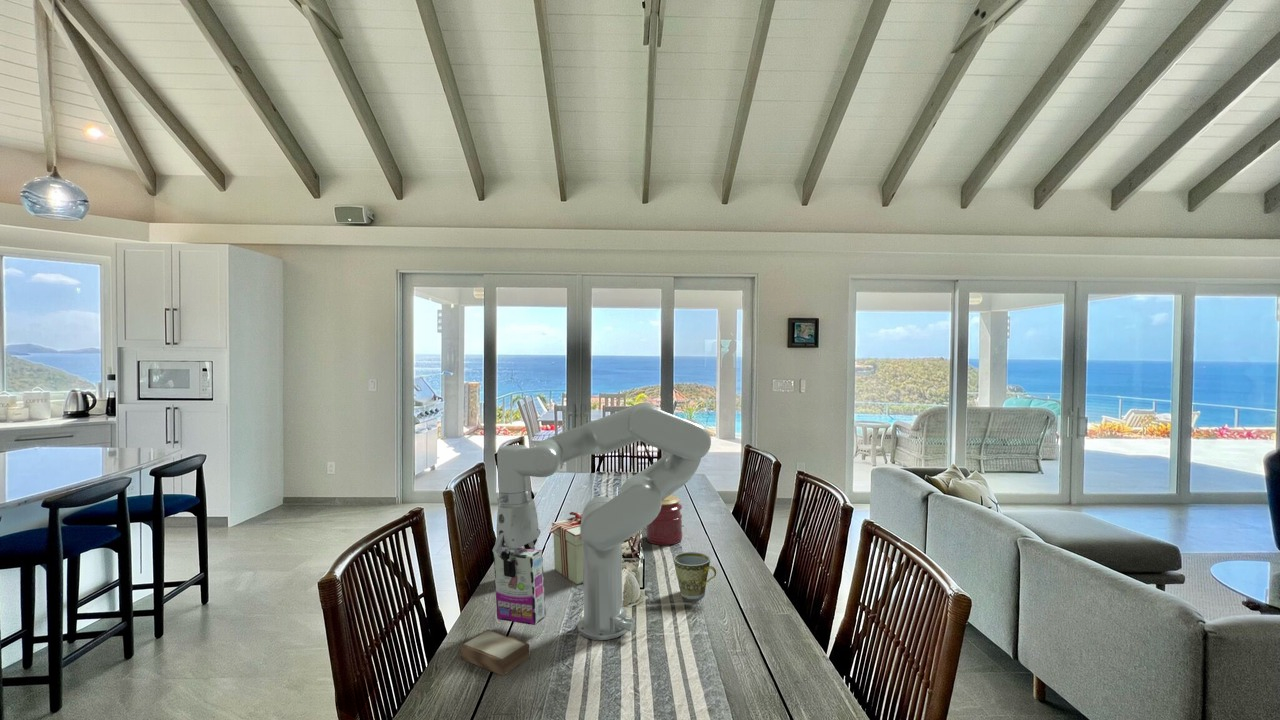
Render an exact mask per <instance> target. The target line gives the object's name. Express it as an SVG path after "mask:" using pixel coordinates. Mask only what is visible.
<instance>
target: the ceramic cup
mask: <svg viewBox="0 0 1280 720" xmlns="http://www.w3.org/2000/svg"><path fill="white" fill-rule="evenodd" d="M673 564H674V568H675V573H676V575H677V581H678V585H679V590H680V591H679V592H680V595H681V598H684V599H686V600H687V599H688V600H700V599H701V598H704V597H705V595H706V587H707V583H709V582H710V581H711V580H713V579H714V578H715V577H716V575H717V571H716V568H715V567H714V566H713V565H710V564H711V558H710V556H709V555H707V554H705V553H702V552H697V551H684V552H680V553H678V554H676V555H674V557H673ZM709 570H712V571H713V573H714V574H713V576H711V577H709V578H708V575H709Z"/></svg>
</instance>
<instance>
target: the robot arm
mask: <svg viewBox="0 0 1280 720" xmlns="http://www.w3.org/2000/svg"><path fill="white" fill-rule="evenodd" d="M639 441H640V442H642V443H644V444H646V445H649V446H651V447H654V448H656V449H658V450H661V451H664V452H666V453H665V454H664V455H663V456H662V457H660V458H659V459H658V460H656V461H655V462H654V463H652V464H651V465H649V466H648V467H646V468H645V469H643V470H642V471H639V472H638V473H637V474H634V475H633V476H631V477H629V478H628V479H627V480H625V481H624V483H623V484H622V485H621V487H620V492H619V494H618V495H616V496H615V497H613V498H611V497H610V498H609V497H607V496H596V497H594V498H592V499H591V500H589V501H588V502H587V503H586V504H585V506H584V508H583V509H582V510H583V511H582V513H581V514H582V518H581V526H580V533H581V538H582V540H583V583H582V585H583V586H582V590H583V591H582V592H583V593H582V594H583V595H582V596H583V597H582V598H583V599H582V600H583V601H582V602H583V616H582V617H580V619H579V620H578V622H577V631H578V633H579V634H580V635H581V636H582V637H584V638H587V639H589V640H593V641H594V640H595V641H605V640H606V641H607V640H612V639H616V638H618V637H621V636H623V635H624V634H625V633H627V632H631V633H632V632H634V630H635V623H636V618H634V617H629V616H628V615H627V608H624V607H623V602H624V601H623V555H622V554H623V549H622V547H623V546H622V543H623V542H625V541H626V540H628V539H629V538H631V537H633V536H634V535H636V534H637V533H639V532H641V530H643V529H645V528H646V526H648V525H649V524H650V523H652V522H653V521H654V520H655V519H656V517H657V516H658V514H659V512H660V510H661V505H662V500H664V499H665V498H666V497H668V496H669V495H673V494H674V493H675V492H676V491H678V490H679V489H680V488H682V487H684V486H685V485H686V484H687V483H688V482H689V481H690V480H691V479H692V478H693V476H694V475H695V474H696V472H697V470H698V469H699V466H700V464H701V461H702V458H704V457H705V456H706V455H707V454H708V453H709V451H710V449H711V445H712V439H711V435H710V432H709V431H708V429H706V427H704V426H703V425H702V424H701V423H700V422H699V421H697V420H695V419H691V418H681V417H680V416H679V417H678V416H676V415H673V414H671V413H669V412H666V411H664V410H662V409H660V408H658V407H657V405H655V404H653V403H651V402H649V401H648V402H646V401H643V402H639V403H636V404H634V405H632V406H629V407H627V408H623V409H621V410H618V411H616V412H614V413H610V414H608V415H606V416H603V417H601V418H598V419H595V420H593V421H590V422H588V423H584V424H582V425H579V426H577V427H574V428H570V429H568V430H565V431H563V432H560V433H558V434H555V435H552V436H550V437H547V438H545V439H543V440H541V441H539V442H537V444H536V445H535V446H533V447H527V446H526V445H523V444H510V445H504V446H502V447H500V448H498V449H497V453H496V454H497V455H496V459H497V461H496V462H497V476H498V477H497V479H498V496H499V497H497V500H496V501H497V503H498V504H499V505H498V507H497V512H496V513H497V514H496V538H497V541H496V540H495V542H496V544H494V546H493V548H492V553H493V554H494V553H495V554H496V555H498V556H499V557H500V558H501V560H503V563H504V575H505V576H508V577H512V578H514V577H515V575H516V574H515V560H513V554H514V549H517V548H519V547H521V546H522V548H525V549H535V550H536V547H535V546H536V544H537V542H538V538H539V536H540V535H541V530H540V529H539V528H540V527H539V520H538V513H537V507H536V504H535V500H534V499H533V498H532V487H531V486H532V484H531V477H535V478H549V477H550V476H553V475H555V473H556V472H557V471H558V469H559V467H560V465H563V464H565V463H567V462H570V461H572V460H575V459H577V458H580V457H584V456H589V455H599V456H600V455H607V454H610V453H612V452H614V451H617V450H619V449H621V448H624V447H626V446H629V445H631V444H633V443H637V442H639ZM502 547H503V548H502ZM507 549H508V550H509V553H508V554H507Z"/></svg>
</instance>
